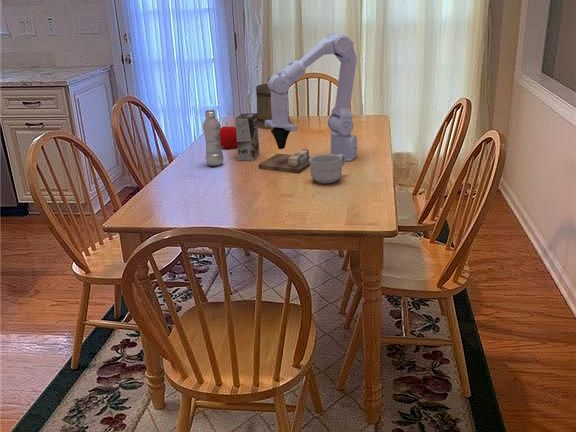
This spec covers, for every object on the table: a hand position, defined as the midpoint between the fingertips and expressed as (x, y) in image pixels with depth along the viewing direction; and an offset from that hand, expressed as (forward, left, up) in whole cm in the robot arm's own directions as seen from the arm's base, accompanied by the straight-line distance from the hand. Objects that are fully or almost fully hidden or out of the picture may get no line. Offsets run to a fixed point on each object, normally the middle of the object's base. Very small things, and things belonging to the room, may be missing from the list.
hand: (281, 148), depth 203 cm
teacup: (-22, +8, -7) cm, 24 cm away
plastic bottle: (+24, +7, -7) cm, 26 cm away
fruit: (+32, -16, -7) cm, 37 cm away
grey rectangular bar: (-6, -2, -5) cm, 8 cm away
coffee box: (+17, -6, -7) cm, 19 cm away
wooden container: (+32, -55, -7) cm, 64 cm away
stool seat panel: (-1, -2, -7) cm, 7 cm away
